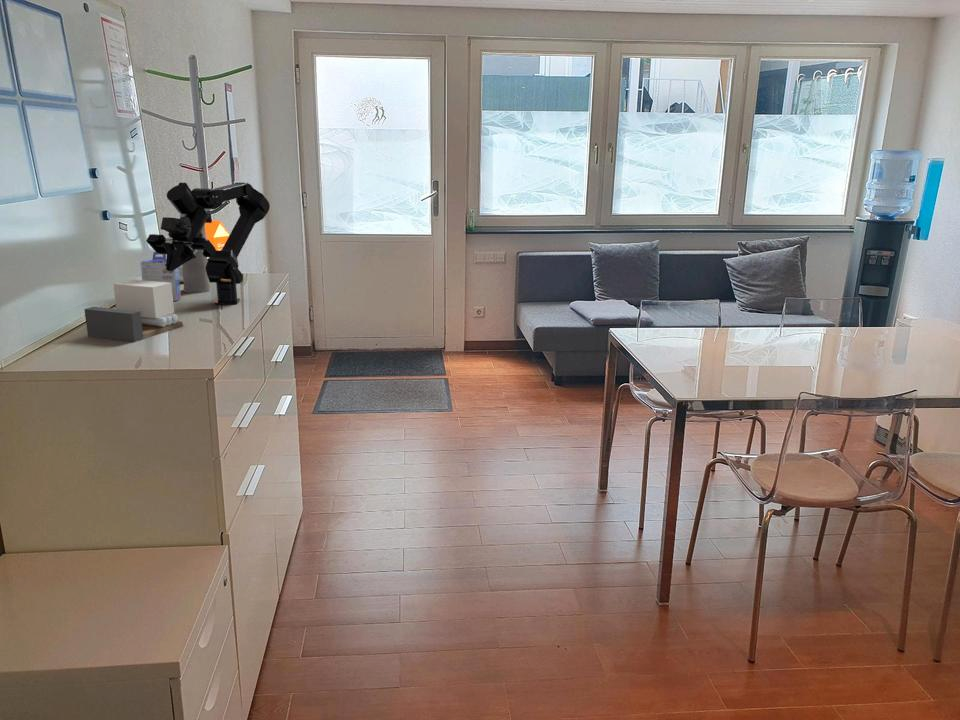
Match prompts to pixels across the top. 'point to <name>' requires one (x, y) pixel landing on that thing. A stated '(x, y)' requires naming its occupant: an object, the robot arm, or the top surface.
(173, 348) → the top surface
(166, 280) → the ink cartridge box
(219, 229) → the orange juice
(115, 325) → the block
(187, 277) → the thermos bottle
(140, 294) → the white rectangular box
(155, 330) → the brown wooden plank
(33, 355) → the top surface
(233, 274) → the robot arm
